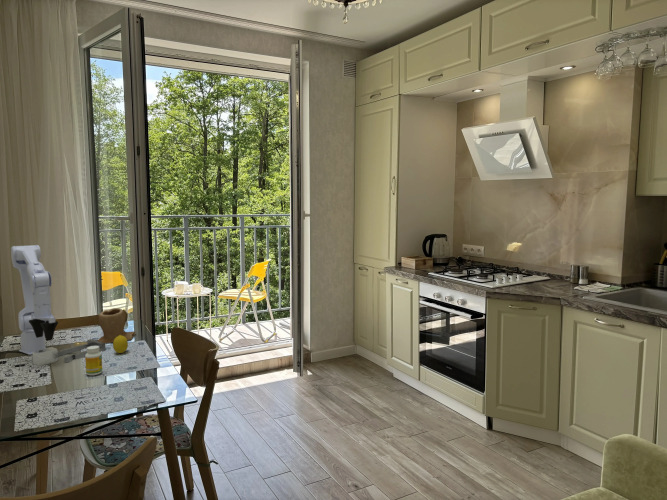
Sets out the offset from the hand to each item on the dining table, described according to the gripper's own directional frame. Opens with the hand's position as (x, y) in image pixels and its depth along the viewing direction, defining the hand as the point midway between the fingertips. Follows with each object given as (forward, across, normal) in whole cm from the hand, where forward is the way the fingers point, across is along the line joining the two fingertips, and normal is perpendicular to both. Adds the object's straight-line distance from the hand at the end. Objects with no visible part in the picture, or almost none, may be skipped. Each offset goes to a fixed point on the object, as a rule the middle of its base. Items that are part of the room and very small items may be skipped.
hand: (44, 338), depth 184 cm
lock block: (+10, 0, 0) cm, 10 cm away
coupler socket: (+9, +1, +14) cm, 17 cm away
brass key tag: (+9, -8, +19) cm, 23 cm away
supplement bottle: (+10, +27, +4) cm, 29 cm away
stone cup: (+10, -2, +31) cm, 33 cm away
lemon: (+10, +15, +22) cm, 28 cm away
